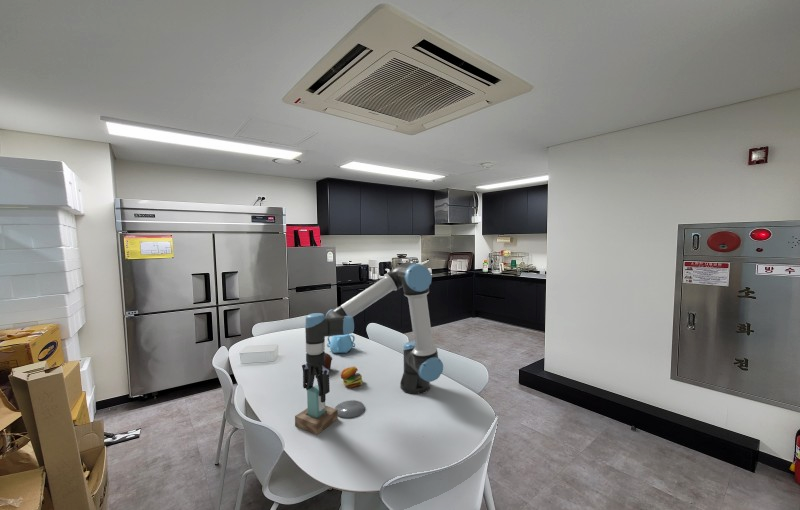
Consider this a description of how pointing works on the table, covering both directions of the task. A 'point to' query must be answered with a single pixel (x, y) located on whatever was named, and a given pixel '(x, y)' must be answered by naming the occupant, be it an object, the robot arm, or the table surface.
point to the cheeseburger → (351, 377)
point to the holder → (316, 420)
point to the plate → (350, 409)
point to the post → (314, 402)
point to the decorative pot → (341, 343)
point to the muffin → (327, 361)
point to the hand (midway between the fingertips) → (316, 407)
